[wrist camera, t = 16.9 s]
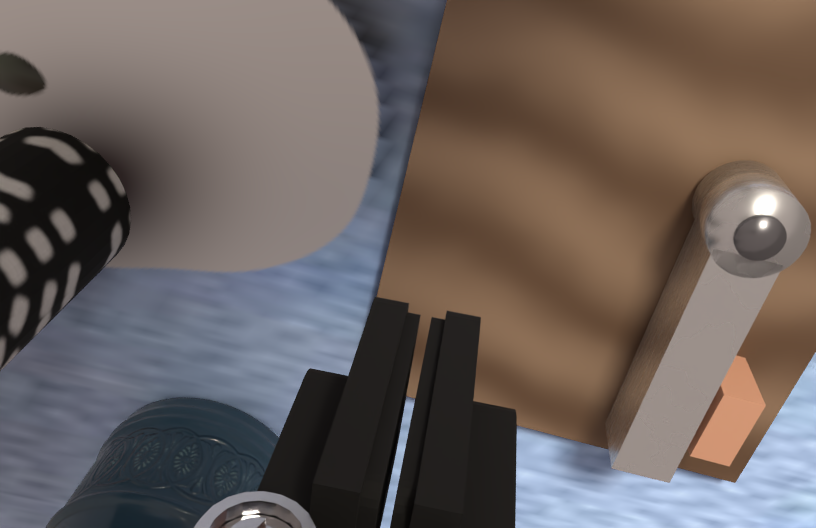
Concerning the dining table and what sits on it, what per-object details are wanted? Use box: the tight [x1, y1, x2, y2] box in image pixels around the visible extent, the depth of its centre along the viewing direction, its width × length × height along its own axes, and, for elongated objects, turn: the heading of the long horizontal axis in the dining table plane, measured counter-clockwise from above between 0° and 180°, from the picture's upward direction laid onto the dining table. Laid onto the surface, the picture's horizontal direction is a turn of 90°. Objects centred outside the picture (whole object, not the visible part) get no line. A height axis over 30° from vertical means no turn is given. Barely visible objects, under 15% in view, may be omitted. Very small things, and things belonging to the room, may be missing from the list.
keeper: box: [688, 356, 766, 466], centre depth 38 cm, size 4×2×4 cm, turn 168°
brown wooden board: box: [377, 0, 816, 483], centre depth 35 cm, size 32×22×1 cm
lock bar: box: [605, 160, 811, 483], centre depth 36 cm, size 16×4×4 cm, turn 168°
